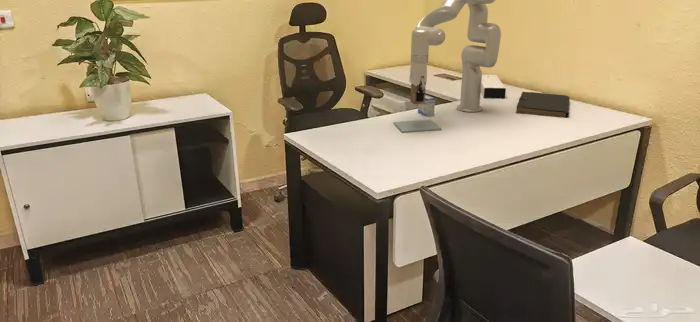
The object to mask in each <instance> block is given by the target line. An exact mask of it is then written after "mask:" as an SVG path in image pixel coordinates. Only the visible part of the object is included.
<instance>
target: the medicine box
mask: <svg viewBox="0 0 700 322" xmlns="http://www.w3.org/2000/svg"><path fill="white" fill-rule="evenodd" d="M417 105H418V106H417V113H418V114H420V113H421V115H423V116H425V117H432V116H435V108H436V107H435V106H436V98H435V97H432V96H430V95H427V94H425V104H417Z"/></svg>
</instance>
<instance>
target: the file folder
mask: <svg viewBox="0 0 700 322" xmlns="http://www.w3.org/2000/svg"><path fill="white" fill-rule="evenodd" d="M515 107H516V111H515V113H516V114H521V115H522V114H523V115H531V116H545V117H546V116H547V117H554V118H555V117H556V118H562V119H563V118H564V119H566V118H569V111H570V96H568V95H565V94H556V93H555V94H554V93H543V92H536V91H535V92H533V91H530V92H529V91H522V92H521V95H520V96H519V99H518V102H517V104H516V106H515Z"/></svg>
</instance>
